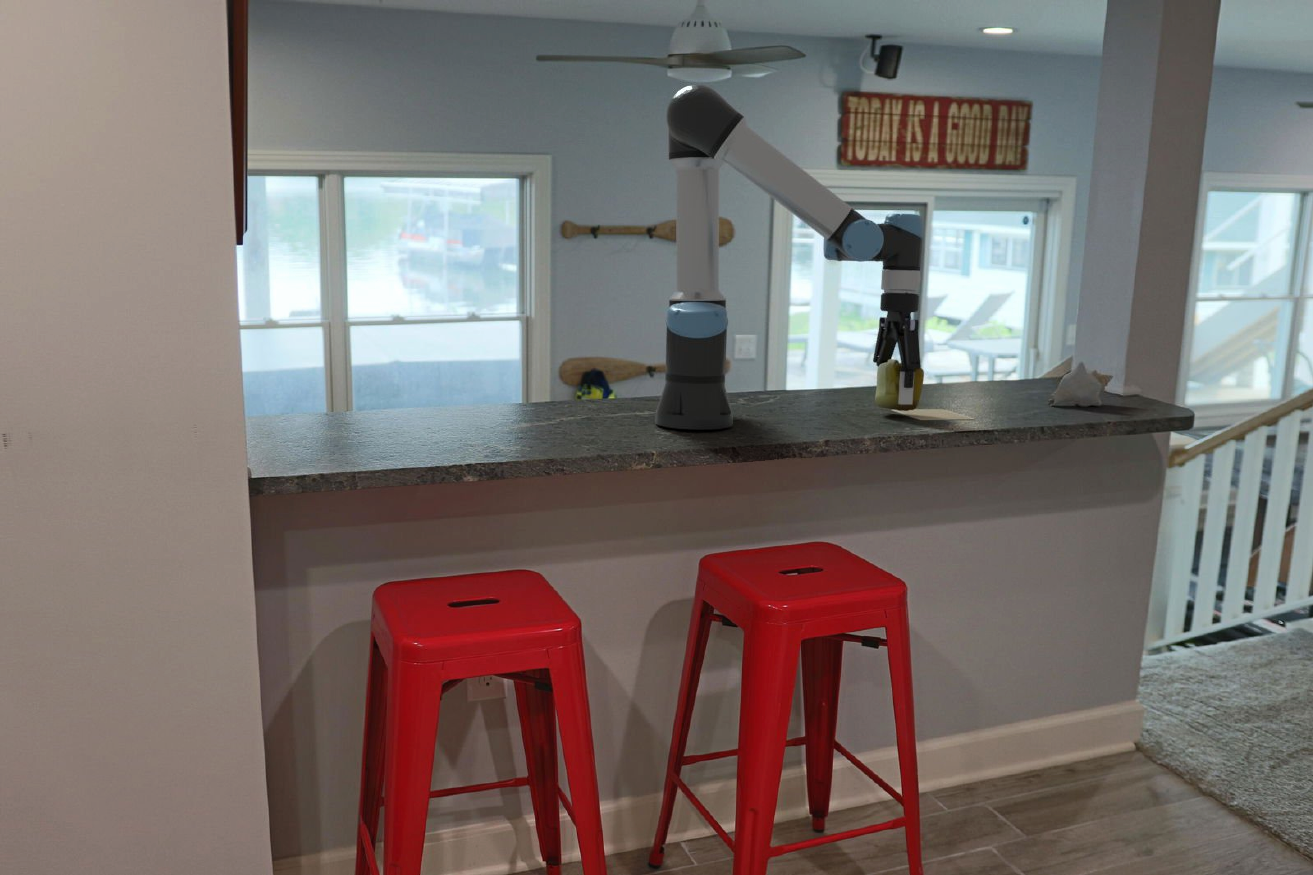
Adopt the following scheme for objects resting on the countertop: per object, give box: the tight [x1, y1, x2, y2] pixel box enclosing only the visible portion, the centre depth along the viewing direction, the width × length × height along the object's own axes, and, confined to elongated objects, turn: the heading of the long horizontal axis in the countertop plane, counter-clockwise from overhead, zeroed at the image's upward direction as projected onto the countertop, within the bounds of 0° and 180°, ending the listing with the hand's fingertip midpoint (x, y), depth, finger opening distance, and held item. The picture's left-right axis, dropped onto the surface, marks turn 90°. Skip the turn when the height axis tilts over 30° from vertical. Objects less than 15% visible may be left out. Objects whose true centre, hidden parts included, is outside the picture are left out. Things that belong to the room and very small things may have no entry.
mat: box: [890, 408, 976, 421], centre depth 229 cm, size 12×14×1 cm
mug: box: [874, 358, 925, 411], centre depth 224 cm, size 12×10×10 cm
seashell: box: [1047, 360, 1114, 408], centre depth 246 cm, size 12×10×15 cm
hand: (893, 401), depth 226 cm, fingers closed on mug, 11 cm apart
